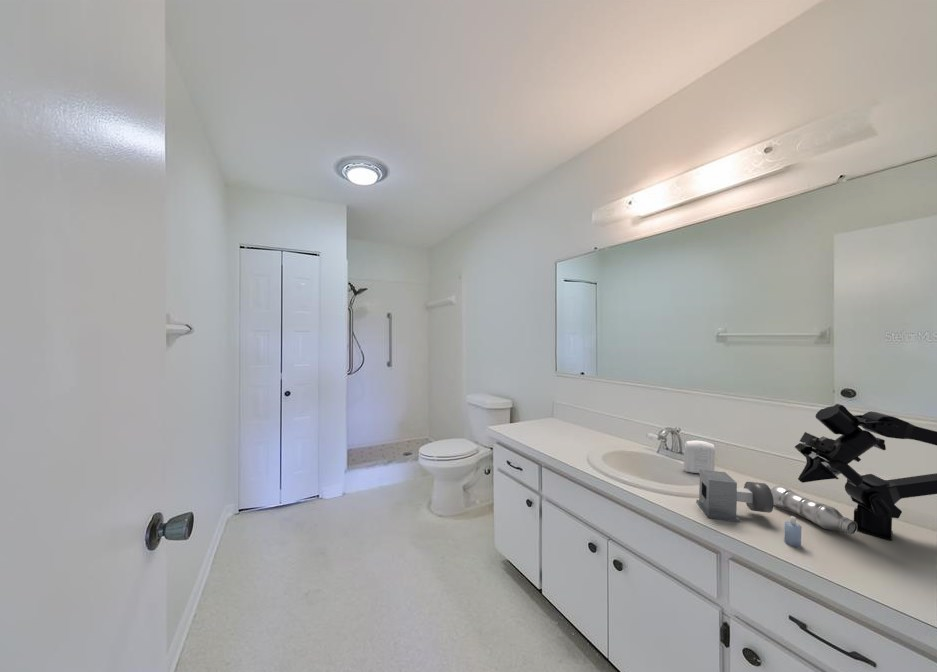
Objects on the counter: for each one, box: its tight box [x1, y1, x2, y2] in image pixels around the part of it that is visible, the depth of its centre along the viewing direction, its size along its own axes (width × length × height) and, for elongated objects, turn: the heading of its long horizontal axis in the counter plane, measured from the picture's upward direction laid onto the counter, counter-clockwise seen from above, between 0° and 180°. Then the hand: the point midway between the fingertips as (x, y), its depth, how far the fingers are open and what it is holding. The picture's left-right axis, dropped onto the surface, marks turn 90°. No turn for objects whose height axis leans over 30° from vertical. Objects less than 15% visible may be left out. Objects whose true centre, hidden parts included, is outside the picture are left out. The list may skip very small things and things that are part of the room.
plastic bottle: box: [770, 485, 858, 535], centre depth 103 cm, size 6×7×20 cm
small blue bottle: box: [783, 515, 803, 548], centre depth 91 cm, size 3×3×7 cm
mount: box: [696, 470, 741, 523], centre depth 107 cm, size 8×10×11 cm
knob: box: [737, 481, 774, 514], centre depth 105 cm, size 13×8×8 cm, turn 74°
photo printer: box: [683, 439, 716, 474], centre depth 137 cm, size 10×4×12 cm, turn 72°
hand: (799, 480), depth 101 cm, fingers closed
